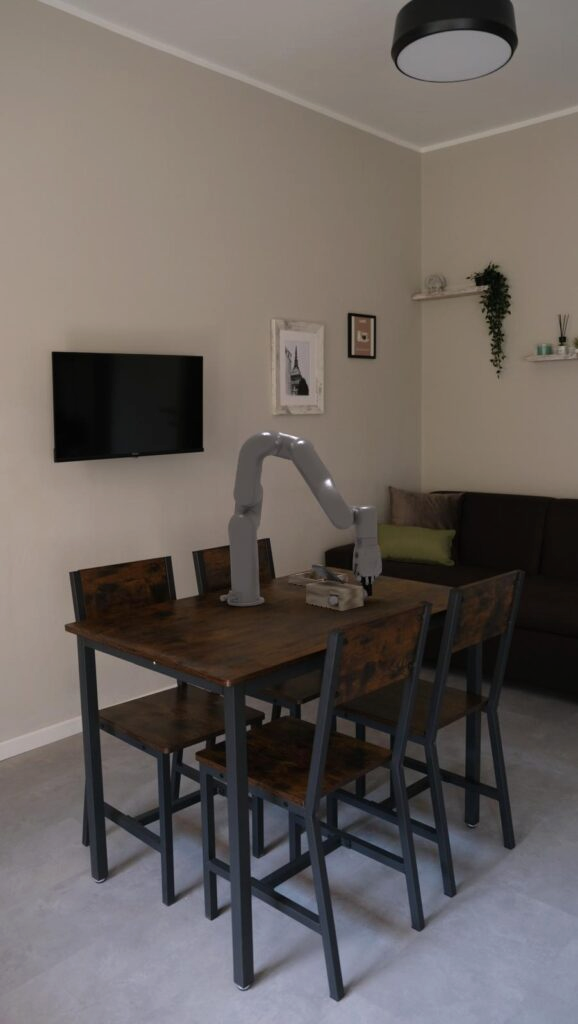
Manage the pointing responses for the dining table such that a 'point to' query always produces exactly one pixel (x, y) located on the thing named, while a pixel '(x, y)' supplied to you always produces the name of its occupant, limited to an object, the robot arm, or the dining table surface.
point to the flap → (326, 573)
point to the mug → (315, 574)
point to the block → (334, 594)
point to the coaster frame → (305, 579)
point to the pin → (335, 599)
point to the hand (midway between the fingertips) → (367, 595)
